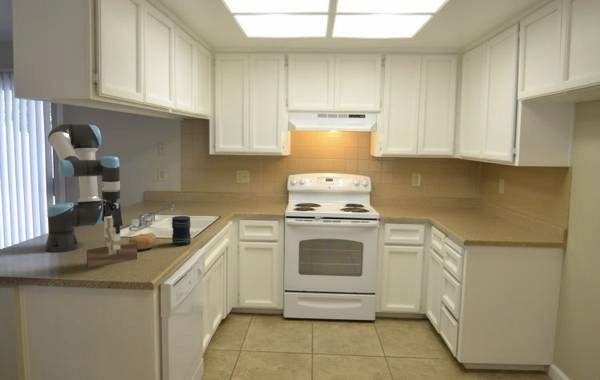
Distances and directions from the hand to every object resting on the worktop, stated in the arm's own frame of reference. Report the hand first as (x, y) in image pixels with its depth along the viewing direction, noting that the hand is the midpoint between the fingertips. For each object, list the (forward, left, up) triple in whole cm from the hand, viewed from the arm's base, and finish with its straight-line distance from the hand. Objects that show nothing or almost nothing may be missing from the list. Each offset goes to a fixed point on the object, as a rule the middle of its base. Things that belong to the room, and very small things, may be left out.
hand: (112, 238), depth 188 cm
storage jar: (-11, +42, -12) cm, 45 cm away
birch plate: (0, 0, -4) cm, 4 cm away
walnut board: (0, 0, -12) cm, 12 cm away
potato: (-14, +21, -12) cm, 28 cm away
